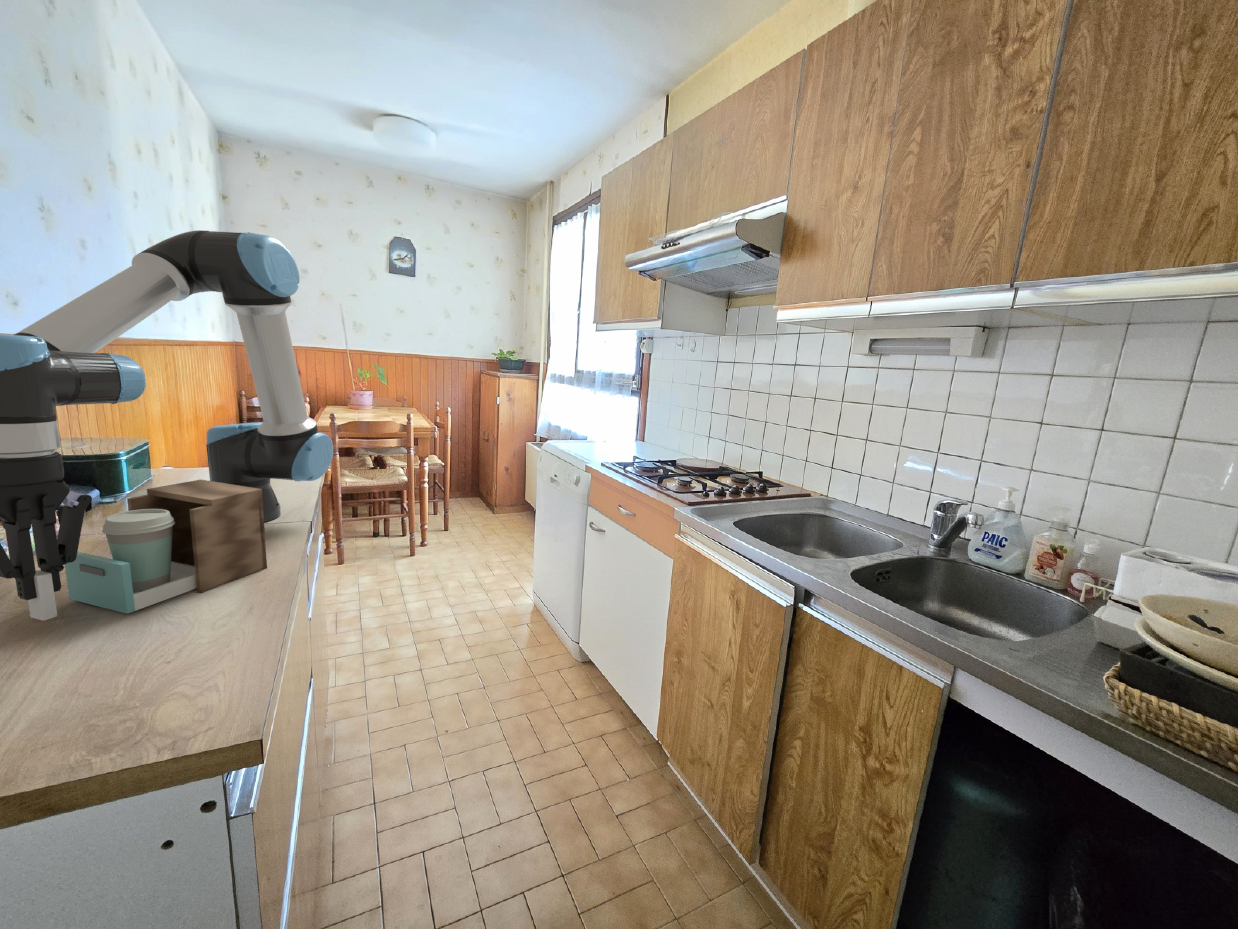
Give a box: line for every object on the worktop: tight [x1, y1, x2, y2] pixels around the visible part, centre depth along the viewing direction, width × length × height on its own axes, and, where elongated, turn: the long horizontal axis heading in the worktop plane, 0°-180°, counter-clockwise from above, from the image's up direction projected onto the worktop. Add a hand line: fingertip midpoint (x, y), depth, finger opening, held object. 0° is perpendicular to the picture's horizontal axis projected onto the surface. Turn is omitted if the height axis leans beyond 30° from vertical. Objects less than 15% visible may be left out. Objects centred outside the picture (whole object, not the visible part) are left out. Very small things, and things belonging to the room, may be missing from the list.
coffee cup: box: [101, 509, 175, 592], centre depth 82 cm, size 9×8×12 cm
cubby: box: [126, 479, 268, 594], centre depth 91 cm, size 12×15×16 cm
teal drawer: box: [64, 551, 197, 614], centre depth 82 cm, size 12×13×8 cm
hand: (44, 616), depth 71 cm, fingers closed
